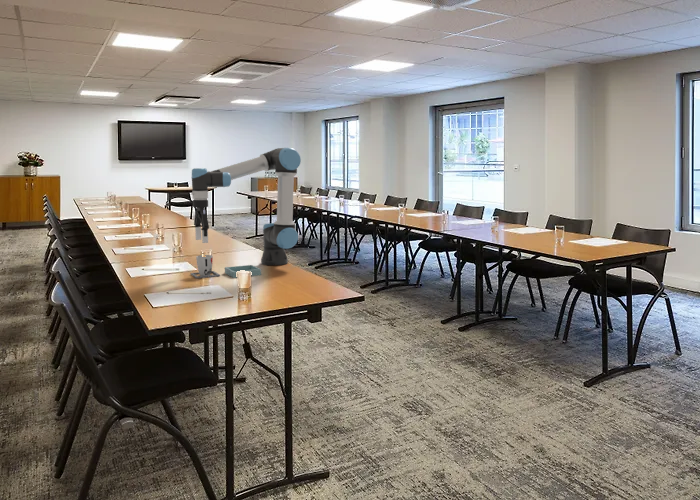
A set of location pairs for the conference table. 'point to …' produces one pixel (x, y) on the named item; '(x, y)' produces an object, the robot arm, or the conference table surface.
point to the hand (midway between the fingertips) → (201, 241)
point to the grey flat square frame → (205, 276)
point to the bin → (232, 270)
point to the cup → (204, 265)
